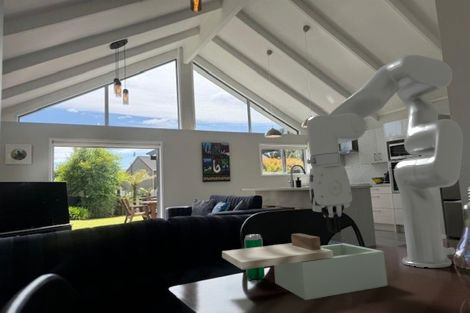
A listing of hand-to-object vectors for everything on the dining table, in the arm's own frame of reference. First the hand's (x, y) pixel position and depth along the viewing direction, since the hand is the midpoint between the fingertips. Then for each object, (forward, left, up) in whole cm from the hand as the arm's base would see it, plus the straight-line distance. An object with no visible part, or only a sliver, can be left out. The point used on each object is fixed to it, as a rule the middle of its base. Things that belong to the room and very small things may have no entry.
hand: (334, 232), depth 86 cm
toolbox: (+3, 0, -13) cm, 13 cm away
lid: (+17, 0, -4) cm, 18 cm away
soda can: (+17, -15, -13) cm, 26 cm away
